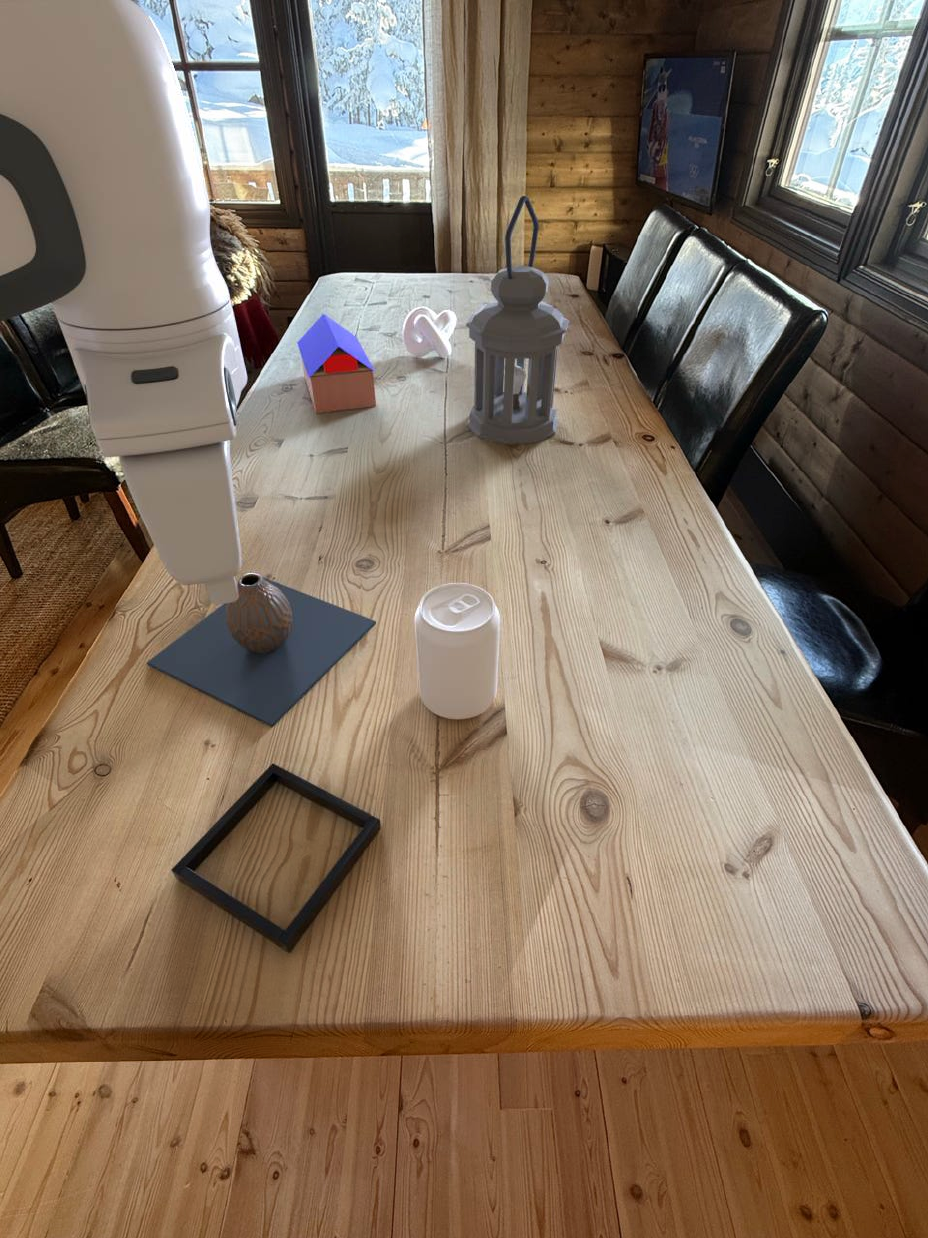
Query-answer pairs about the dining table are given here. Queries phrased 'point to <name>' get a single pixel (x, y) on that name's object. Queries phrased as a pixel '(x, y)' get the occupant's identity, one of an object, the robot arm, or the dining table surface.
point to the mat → (264, 657)
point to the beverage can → (457, 650)
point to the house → (336, 368)
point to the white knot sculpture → (428, 332)
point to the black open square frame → (325, 889)
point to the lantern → (516, 352)
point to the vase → (259, 615)
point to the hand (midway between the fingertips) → (220, 557)
